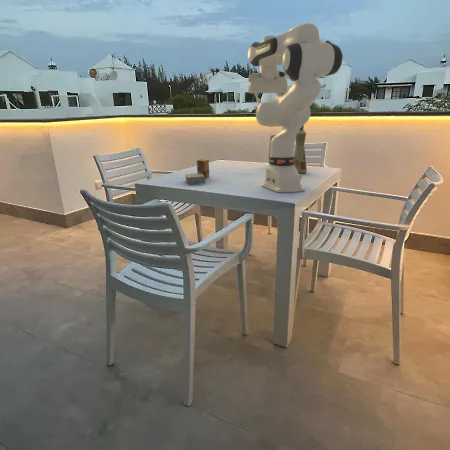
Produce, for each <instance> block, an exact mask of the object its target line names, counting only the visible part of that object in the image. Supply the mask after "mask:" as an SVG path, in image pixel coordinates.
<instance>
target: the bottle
mask: <svg viewBox="0 0 450 450" xmlns="http://www.w3.org/2000/svg"><path fill="white" fill-rule="evenodd" d="M304 126H305V124H304V125H303V126H302V127H301V128H300V130H299V131H298V133H297V135H296V138H295V146H294V152H293V156H294V159H295V164H294V165H295V168H296V170H297V171H298V174H299V175H300V174H301V175H302V174H306V173H307V160H306V149H305V142H306V136H307V131H305V130H304Z"/></svg>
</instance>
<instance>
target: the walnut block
mask: <svg viewBox="0 0 450 450" xmlns="http://www.w3.org/2000/svg"><path fill="white" fill-rule="evenodd" d="M209 161H210V160H209V159H207V158H206V159H205V158H200V159H198V160H196V168H197V172H196V174H198V173H202V174H203V175H204V176H205V180H206V178H207V179H209V178H210V162H209ZM208 177H209V178H208Z"/></svg>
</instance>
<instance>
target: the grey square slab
mask: <svg viewBox="0 0 450 450" xmlns="http://www.w3.org/2000/svg"><path fill="white" fill-rule="evenodd" d="M184 177H185V182H187V183H186V185H187V184H189V185H199V184H198V183H204V184H206V182H205V181H206V179H205V176H204V175H203V174H202V173H198V174H197V173H186V174H185V175H184Z"/></svg>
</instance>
